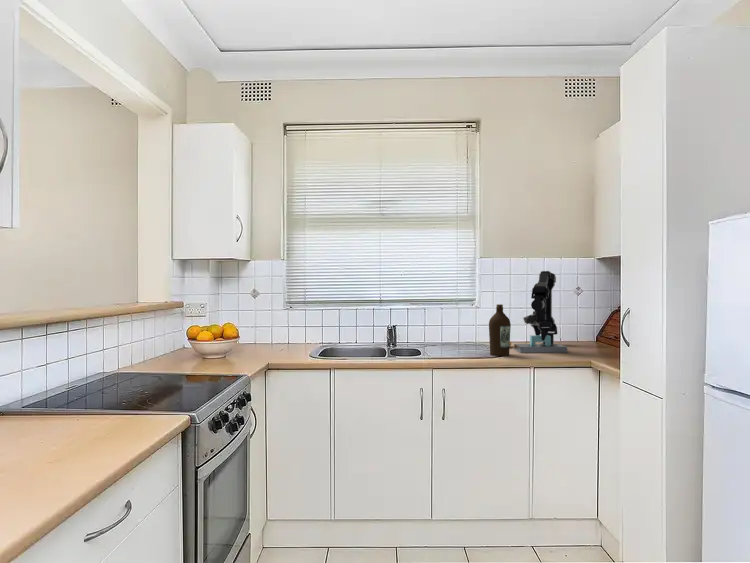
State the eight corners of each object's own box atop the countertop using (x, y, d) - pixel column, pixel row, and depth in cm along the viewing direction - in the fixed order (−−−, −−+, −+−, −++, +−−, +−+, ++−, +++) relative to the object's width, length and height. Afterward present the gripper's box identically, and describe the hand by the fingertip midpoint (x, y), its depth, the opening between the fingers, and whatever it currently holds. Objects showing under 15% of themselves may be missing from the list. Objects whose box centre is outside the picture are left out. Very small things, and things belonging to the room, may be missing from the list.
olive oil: (484, 354, 283) (484, 304, 283) (499, 352, 289) (499, 303, 288) (499, 356, 274) (499, 305, 274) (515, 355, 280) (515, 304, 280)
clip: (529, 350, 295) (529, 335, 295) (548, 350, 296) (549, 335, 295) (531, 351, 292) (531, 336, 292) (550, 351, 292) (550, 336, 292)
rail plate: (514, 349, 300) (514, 343, 300) (559, 349, 300) (559, 343, 300) (520, 352, 288) (520, 346, 288) (567, 352, 288) (567, 346, 288)
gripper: (519, 308, 303) (519, 337, 303) (530, 310, 284) (530, 341, 284) (540, 308, 303) (540, 337, 303) (552, 310, 284) (552, 341, 284)
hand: (540, 339), depth 294 cm, fingers open, 9 cm apart
